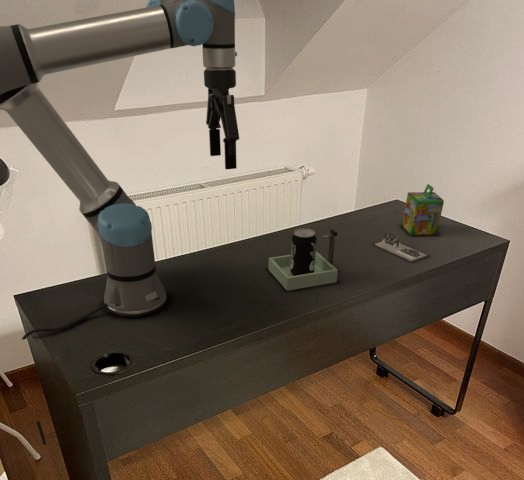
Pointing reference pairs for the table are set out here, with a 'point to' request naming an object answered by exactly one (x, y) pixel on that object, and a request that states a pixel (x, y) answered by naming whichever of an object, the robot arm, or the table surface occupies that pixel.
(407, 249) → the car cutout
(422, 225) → the chalk box
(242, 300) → the table surface
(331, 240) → the tap
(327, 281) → the sink
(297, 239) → the beverage can
